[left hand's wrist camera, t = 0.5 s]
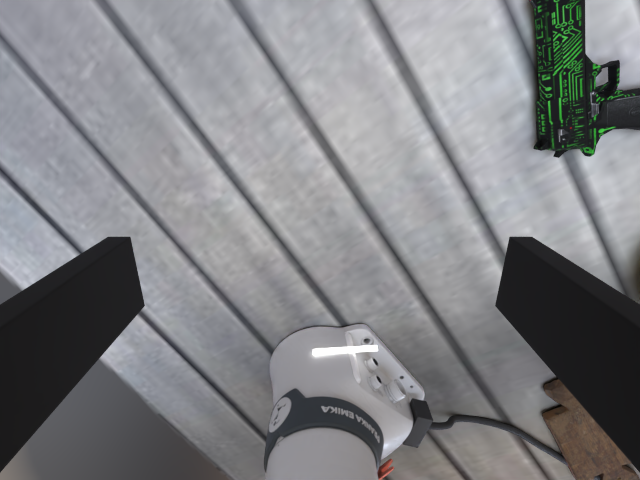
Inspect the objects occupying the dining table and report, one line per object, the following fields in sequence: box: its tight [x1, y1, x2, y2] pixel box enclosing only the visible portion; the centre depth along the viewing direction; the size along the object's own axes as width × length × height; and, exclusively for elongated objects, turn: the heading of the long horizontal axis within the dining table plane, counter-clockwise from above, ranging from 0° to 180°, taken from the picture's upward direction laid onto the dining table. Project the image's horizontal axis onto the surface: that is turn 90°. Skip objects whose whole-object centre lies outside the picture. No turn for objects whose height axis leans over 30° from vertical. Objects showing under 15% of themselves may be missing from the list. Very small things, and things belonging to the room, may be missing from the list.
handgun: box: [529, 0, 640, 158], centre depth 34 cm, size 16×3×15 cm
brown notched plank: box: [542, 379, 639, 480], centre depth 52 cm, size 26×2×10 cm
